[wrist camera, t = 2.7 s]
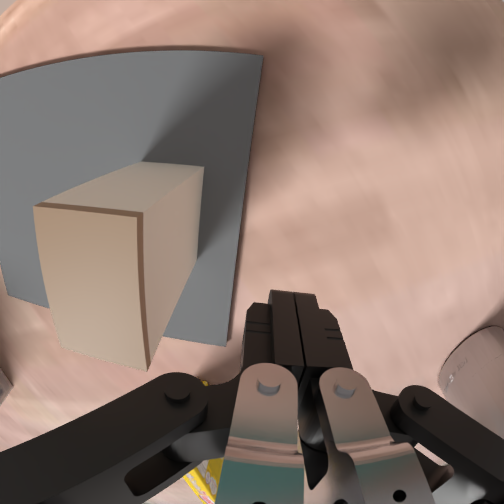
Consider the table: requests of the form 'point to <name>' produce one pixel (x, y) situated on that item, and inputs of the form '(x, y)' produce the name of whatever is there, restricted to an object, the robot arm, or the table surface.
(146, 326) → the cream block
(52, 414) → the table surface
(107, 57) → the mat
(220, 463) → the candy box
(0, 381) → the juice carton
